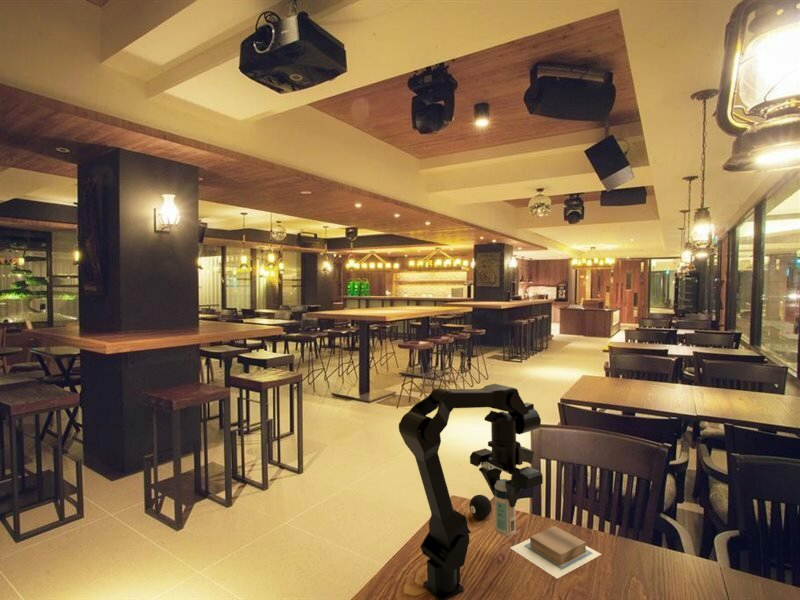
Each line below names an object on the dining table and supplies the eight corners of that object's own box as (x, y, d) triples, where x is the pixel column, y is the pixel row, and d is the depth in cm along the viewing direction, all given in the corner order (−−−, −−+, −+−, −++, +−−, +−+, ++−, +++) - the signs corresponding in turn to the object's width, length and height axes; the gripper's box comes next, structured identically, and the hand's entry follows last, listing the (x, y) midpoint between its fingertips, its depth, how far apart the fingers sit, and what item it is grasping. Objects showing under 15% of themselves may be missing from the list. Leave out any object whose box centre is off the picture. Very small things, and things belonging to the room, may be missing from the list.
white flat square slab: (557, 581, 97) (557, 578, 97) (509, 550, 109) (509, 547, 109) (601, 556, 105) (601, 553, 105) (553, 530, 117) (553, 527, 117)
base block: (561, 565, 101) (560, 554, 101) (530, 546, 109) (530, 536, 109) (585, 552, 106) (585, 542, 106) (554, 535, 114) (554, 525, 114)
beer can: (513, 527, 108) (513, 478, 108) (517, 538, 104) (516, 487, 103) (494, 526, 109) (493, 478, 109) (496, 537, 104) (495, 486, 104)
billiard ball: (496, 518, 124) (495, 497, 124) (480, 524, 121) (479, 503, 121) (481, 509, 129) (480, 489, 129) (465, 515, 126) (465, 494, 126)
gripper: (558, 442, 102) (559, 509, 103) (500, 422, 118) (501, 480, 118) (524, 452, 96) (525, 523, 97) (468, 430, 112) (469, 491, 112)
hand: (504, 502), depth 106 cm, fingers closed on beer can, 5 cm apart
